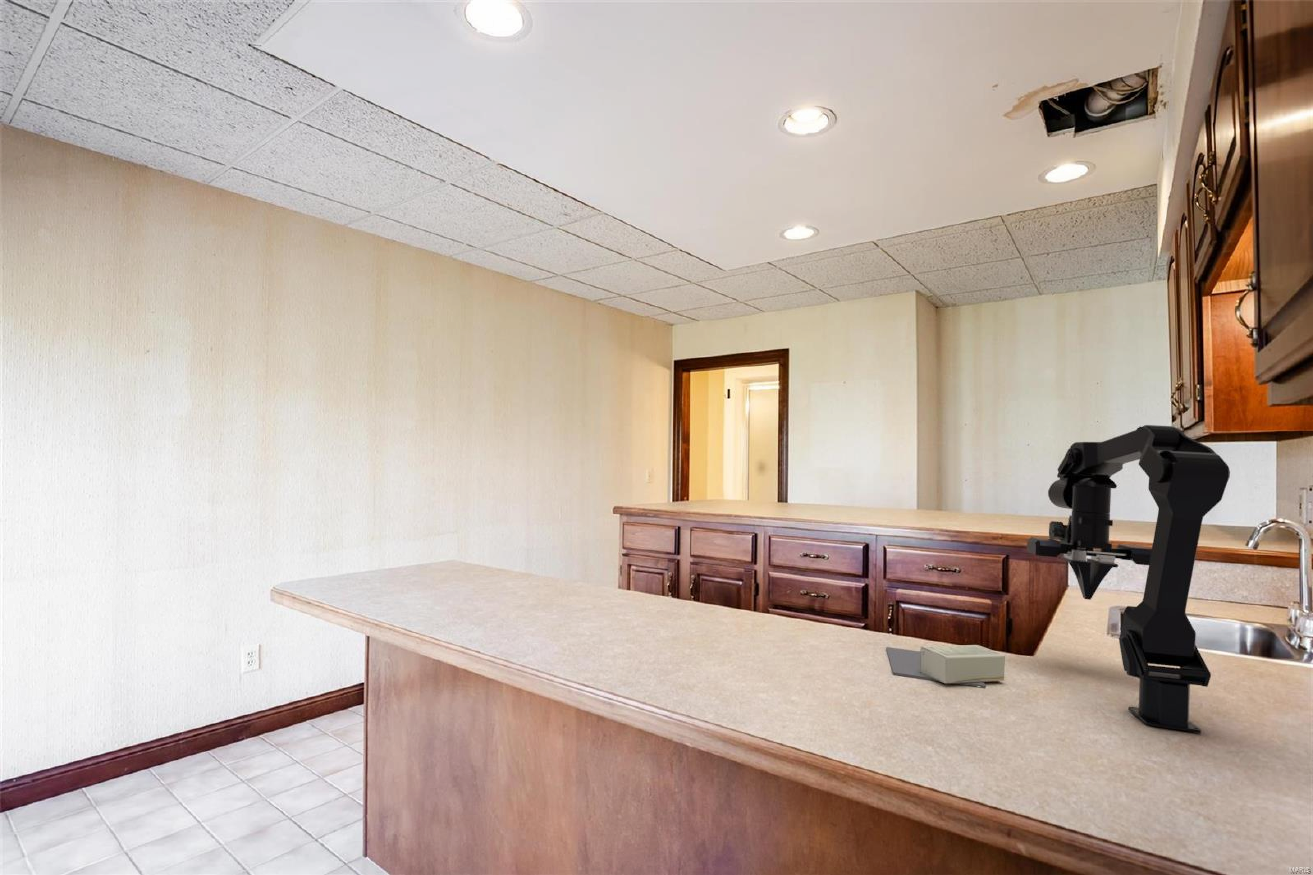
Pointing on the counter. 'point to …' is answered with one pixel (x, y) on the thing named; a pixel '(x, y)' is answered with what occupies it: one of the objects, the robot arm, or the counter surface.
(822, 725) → the counter surface
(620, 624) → the counter surface
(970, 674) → the skincare box
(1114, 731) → the counter surface
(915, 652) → the mat
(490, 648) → the counter surface
